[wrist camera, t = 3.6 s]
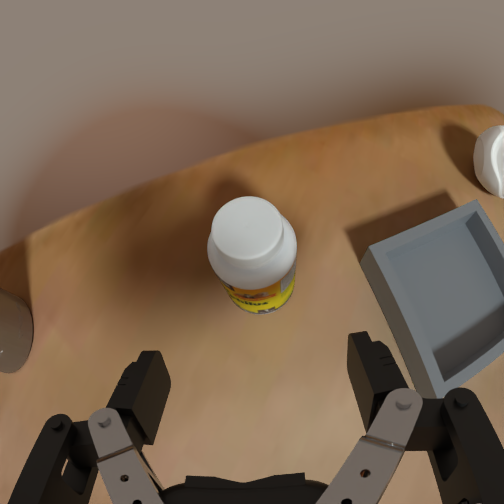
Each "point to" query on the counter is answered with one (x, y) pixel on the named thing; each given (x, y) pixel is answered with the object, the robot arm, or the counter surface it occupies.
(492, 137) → the white swirled ball
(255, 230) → the supplement bottle
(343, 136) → the counter surface
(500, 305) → the tray
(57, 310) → the counter surface
